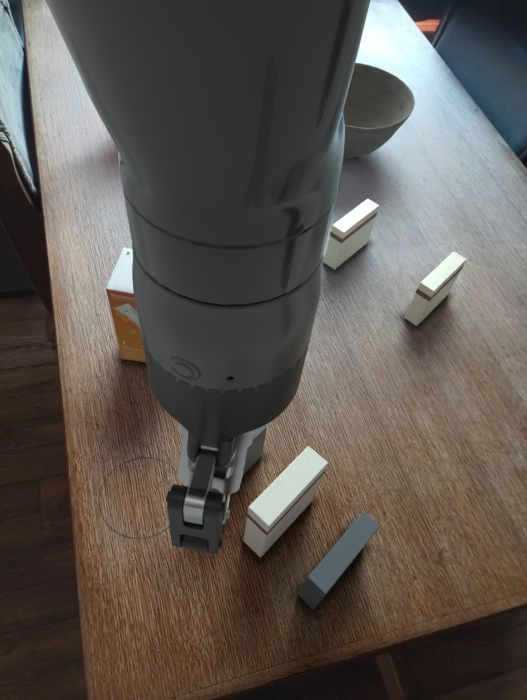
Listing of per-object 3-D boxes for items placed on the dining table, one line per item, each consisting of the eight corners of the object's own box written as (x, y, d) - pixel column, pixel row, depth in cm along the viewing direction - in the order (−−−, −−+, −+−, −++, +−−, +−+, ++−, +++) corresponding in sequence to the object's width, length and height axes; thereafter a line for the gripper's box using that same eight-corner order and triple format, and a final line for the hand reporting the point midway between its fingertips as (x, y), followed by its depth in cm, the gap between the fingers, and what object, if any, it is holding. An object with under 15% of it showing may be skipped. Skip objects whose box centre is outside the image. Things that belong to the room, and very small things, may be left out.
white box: (312, 501, 57) (329, 462, 49) (260, 558, 53) (268, 527, 45) (295, 485, 58) (308, 444, 50) (242, 540, 54) (247, 506, 46)
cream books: (448, 294, 76) (467, 259, 70) (416, 326, 72) (434, 291, 66) (356, 235, 81) (367, 198, 76) (323, 262, 77) (331, 225, 72)
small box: (121, 360, 65) (103, 288, 55) (136, 319, 69) (122, 245, 58) (187, 371, 65) (181, 301, 55) (198, 330, 69) (196, 257, 58)
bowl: (297, 109, 100) (304, 53, 91) (398, 126, 99) (415, 71, 91) (281, 171, 89) (288, 114, 81) (395, 190, 88) (414, 135, 80)
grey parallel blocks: (363, 547, 55) (380, 525, 49) (313, 610, 51) (325, 594, 45) (249, 444, 60) (252, 414, 55) (196, 494, 57) (194, 467, 51)
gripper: (288, 483, 19) (258, 585, 32) (329, 218, 27) (292, 386, 41) (82, 443, 19) (136, 560, 33) (184, 193, 28) (194, 367, 41)
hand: (222, 464), depth 37 cm, fingers open, 8 cm apart
